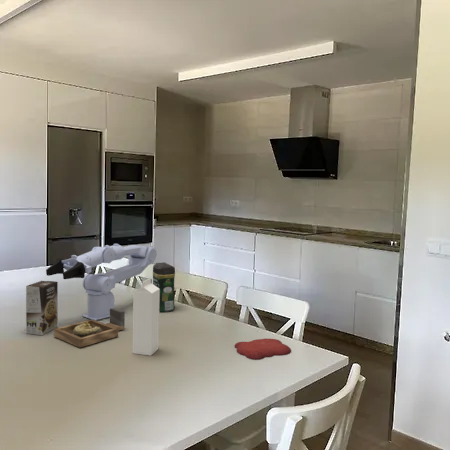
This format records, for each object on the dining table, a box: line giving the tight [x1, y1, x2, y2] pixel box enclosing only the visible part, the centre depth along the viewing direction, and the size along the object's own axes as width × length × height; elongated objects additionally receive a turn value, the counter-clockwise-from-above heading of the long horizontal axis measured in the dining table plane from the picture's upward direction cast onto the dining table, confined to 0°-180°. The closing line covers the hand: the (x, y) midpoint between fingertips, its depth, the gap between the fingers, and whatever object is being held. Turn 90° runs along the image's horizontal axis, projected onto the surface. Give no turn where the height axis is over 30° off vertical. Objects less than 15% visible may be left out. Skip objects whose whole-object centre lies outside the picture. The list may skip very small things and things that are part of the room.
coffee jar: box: [152, 262, 176, 313], centre depth 186 cm, size 10×8×19 cm
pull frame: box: [53, 307, 126, 348], centre depth 154 cm, size 20×14×6 cm
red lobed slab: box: [234, 338, 292, 361], centre depth 146 cm, size 18×14×2 cm
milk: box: [132, 277, 160, 357], centre depth 141 cm, size 6×6×22 cm
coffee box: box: [25, 280, 59, 336], centre depth 156 cm, size 9×6×16 cm
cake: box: [72, 322, 102, 338], centre depth 152 cm, size 10×10×5 cm
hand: (55, 274), depth 155 cm, fingers open, 7 cm apart
